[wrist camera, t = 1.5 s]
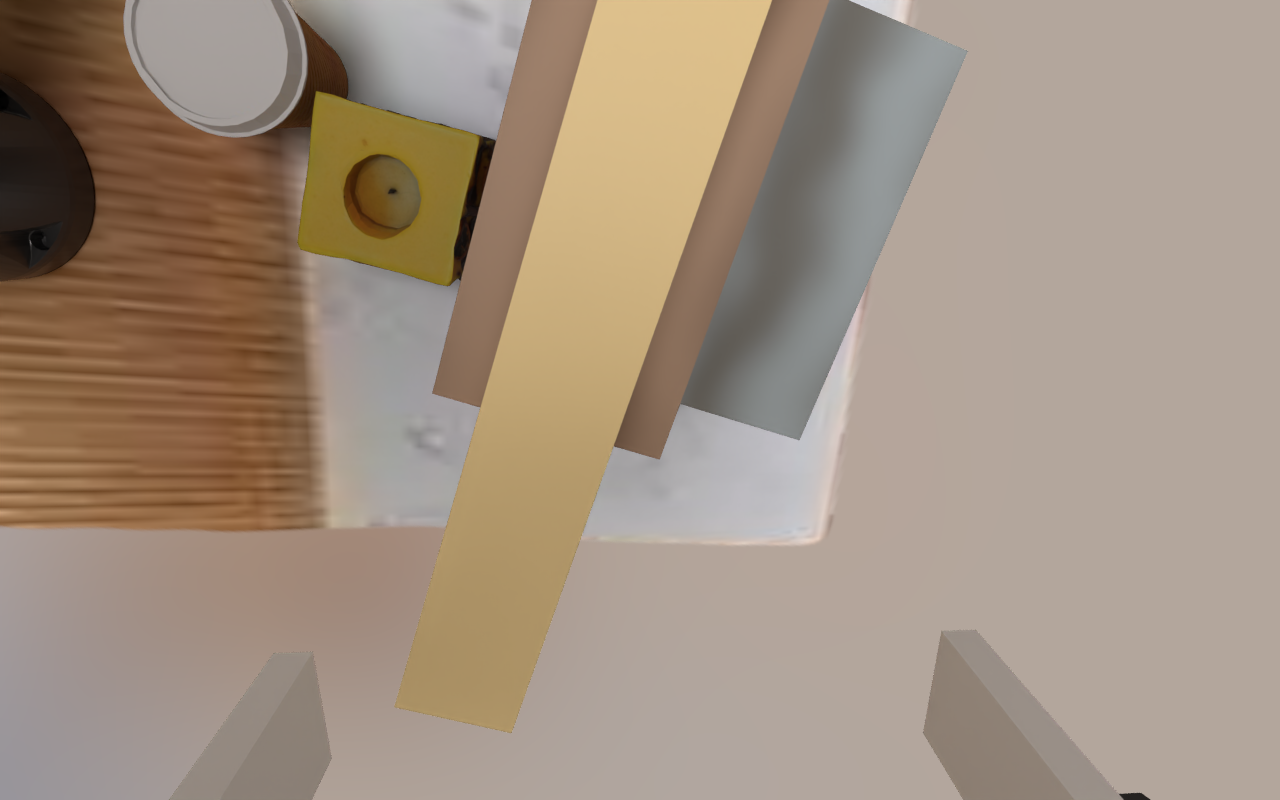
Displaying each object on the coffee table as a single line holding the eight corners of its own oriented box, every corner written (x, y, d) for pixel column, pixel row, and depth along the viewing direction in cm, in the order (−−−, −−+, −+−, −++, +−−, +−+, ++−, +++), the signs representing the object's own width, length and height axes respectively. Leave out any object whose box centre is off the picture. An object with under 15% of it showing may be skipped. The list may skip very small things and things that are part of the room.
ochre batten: (418, 646, 24) (394, 707, 21) (670, -219, 17) (685, -306, 14) (521, 671, 25) (511, 732, 22) (809, -153, 17) (851, -223, 14)
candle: (507, 144, 49) (485, 131, 39) (482, 274, 51) (455, 291, 42) (371, 104, 47) (313, 81, 38) (352, 240, 50) (294, 249, 40)
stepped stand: (531, 277, 52) (432, 393, 21) (598, 42, 47) (594, -249, 16) (715, 337, 54) (863, 518, 23) (797, 119, 49) (1117, -9, 19)
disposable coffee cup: (395, 64, 46) (327, 21, 35) (332, 176, 48) (249, 170, 37) (272, -26, 44) (158, -104, 33) (212, 95, 46) (85, 62, 35)
